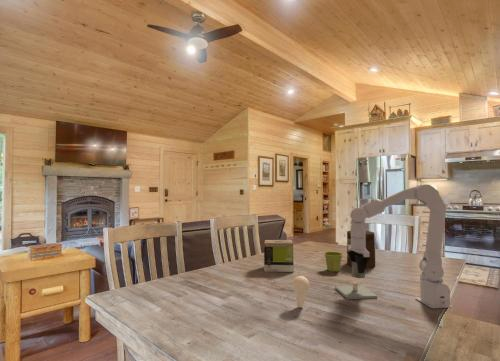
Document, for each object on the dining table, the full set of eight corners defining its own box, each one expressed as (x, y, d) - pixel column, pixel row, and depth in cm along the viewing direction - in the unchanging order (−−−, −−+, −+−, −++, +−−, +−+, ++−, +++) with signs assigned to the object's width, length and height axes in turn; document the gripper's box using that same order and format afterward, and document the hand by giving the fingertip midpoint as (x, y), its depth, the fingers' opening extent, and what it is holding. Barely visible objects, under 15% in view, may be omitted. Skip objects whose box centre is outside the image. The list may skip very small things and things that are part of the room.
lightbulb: (297, 302, 109) (297, 272, 109) (312, 307, 105) (312, 276, 105) (288, 307, 104) (288, 276, 105) (304, 312, 100) (304, 280, 101)
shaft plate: (377, 298, 114) (377, 287, 114) (347, 299, 113) (347, 288, 113) (362, 287, 126) (362, 278, 126) (335, 288, 125) (335, 279, 125)
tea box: (292, 267, 158) (292, 239, 158) (293, 272, 148) (293, 243, 148) (264, 266, 159) (264, 239, 160) (263, 271, 149) (263, 242, 150)
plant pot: (339, 274, 146) (338, 256, 146) (321, 270, 152) (321, 253, 152) (345, 270, 153) (345, 253, 154) (328, 267, 159) (328, 250, 159)
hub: (367, 278, 117) (367, 262, 117) (355, 278, 116) (355, 263, 117) (361, 274, 122) (361, 259, 122) (349, 274, 121) (349, 259, 122)
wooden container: (341, 262, 169) (341, 224, 170) (363, 260, 174) (363, 223, 174) (358, 269, 155) (358, 227, 156) (381, 267, 160) (381, 226, 160)
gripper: (341, 234, 126) (341, 266, 126) (356, 240, 112) (356, 276, 112) (357, 234, 127) (357, 266, 127) (374, 240, 113) (374, 276, 112)
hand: (358, 271), depth 119 cm, fingers closed on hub, 5 cm apart
